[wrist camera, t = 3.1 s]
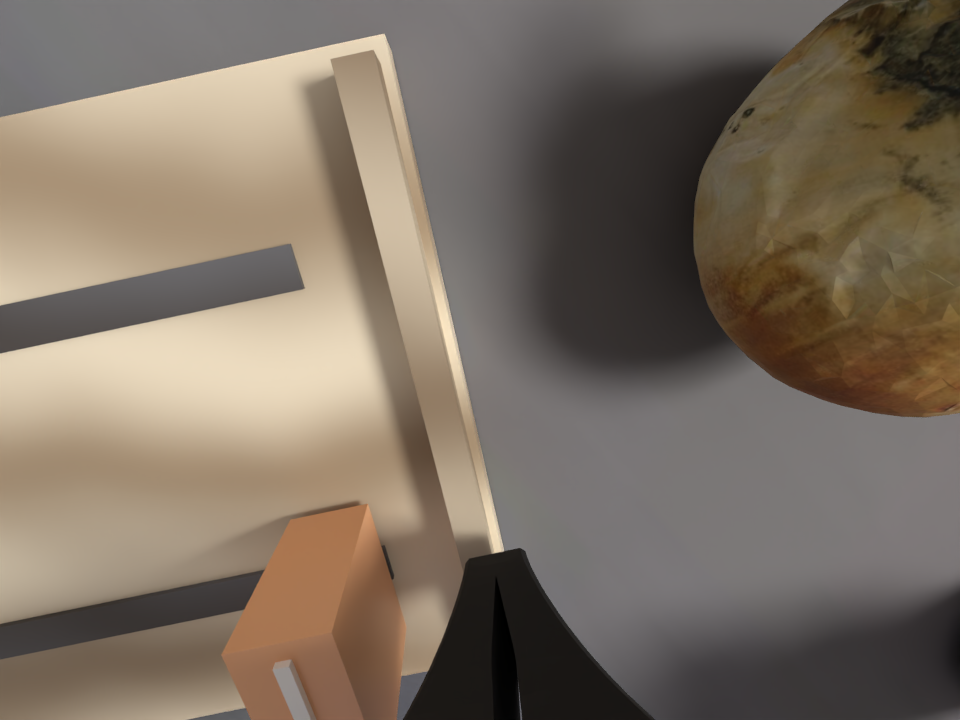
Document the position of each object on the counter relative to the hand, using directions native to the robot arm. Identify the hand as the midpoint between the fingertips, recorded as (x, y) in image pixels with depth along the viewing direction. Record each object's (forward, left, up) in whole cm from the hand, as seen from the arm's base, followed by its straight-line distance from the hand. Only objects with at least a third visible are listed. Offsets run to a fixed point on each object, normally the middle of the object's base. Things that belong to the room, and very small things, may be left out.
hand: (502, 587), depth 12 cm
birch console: (+4, +11, -3) cm, 12 cm away
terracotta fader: (0, +4, -2) cm, 4 cm away
